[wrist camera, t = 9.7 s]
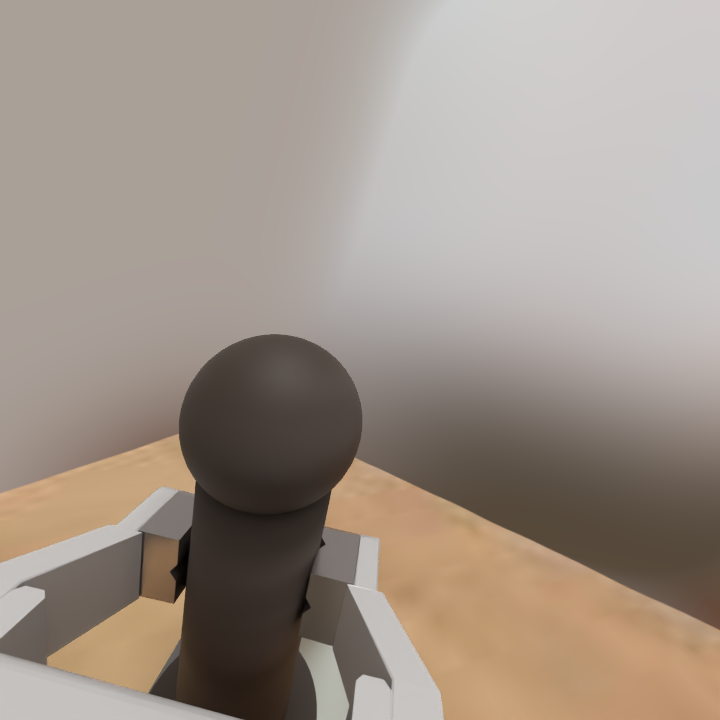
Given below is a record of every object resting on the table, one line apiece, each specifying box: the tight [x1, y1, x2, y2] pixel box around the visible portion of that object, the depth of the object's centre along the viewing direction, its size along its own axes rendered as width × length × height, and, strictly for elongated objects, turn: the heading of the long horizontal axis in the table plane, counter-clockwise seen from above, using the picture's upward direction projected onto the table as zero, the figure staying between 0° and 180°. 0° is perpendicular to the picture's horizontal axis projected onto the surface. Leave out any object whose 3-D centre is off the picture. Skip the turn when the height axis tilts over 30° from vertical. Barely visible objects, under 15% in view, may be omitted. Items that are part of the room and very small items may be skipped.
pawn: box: [150, 334, 362, 720], centre depth 9 cm, size 5×5×12 cm
